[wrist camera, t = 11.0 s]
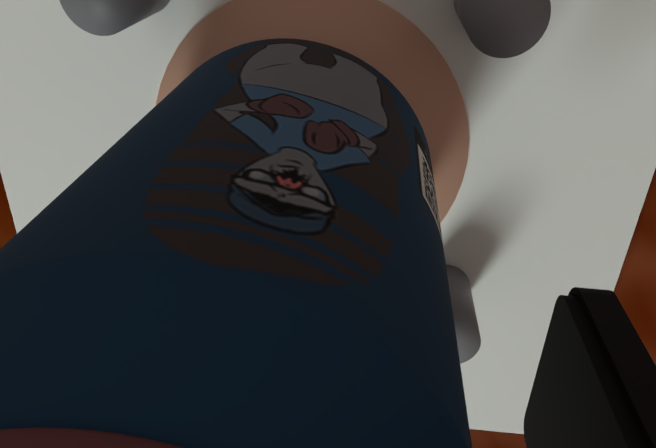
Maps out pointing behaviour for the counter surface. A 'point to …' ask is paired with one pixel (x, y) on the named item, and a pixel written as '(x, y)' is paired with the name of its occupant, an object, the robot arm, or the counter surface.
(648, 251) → the counter surface
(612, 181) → the stub board
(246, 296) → the soda can
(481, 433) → the counter surface
